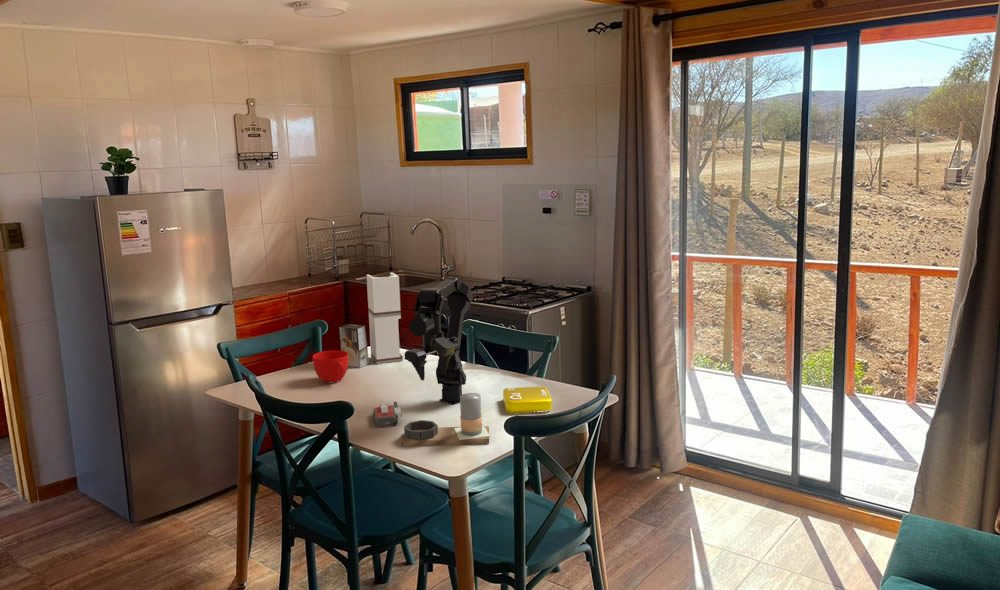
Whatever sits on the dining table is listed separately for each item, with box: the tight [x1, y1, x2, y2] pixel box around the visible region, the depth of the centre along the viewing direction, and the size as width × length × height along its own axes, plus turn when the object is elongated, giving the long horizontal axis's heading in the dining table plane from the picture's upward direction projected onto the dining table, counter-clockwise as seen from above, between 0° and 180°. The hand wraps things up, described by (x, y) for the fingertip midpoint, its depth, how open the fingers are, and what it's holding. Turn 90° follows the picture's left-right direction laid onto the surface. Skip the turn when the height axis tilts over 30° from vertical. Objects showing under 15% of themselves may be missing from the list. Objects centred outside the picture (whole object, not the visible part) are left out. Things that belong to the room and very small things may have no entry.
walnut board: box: [401, 425, 490, 447], centre depth 216 cm, size 25×10×2 cm, turn 91°
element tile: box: [502, 386, 553, 415], centre depth 243 cm, size 15×15×5 cm
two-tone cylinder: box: [459, 392, 483, 436], centre depth 215 cm, size 6×6×11 cm
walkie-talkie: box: [372, 400, 402, 428], centre depth 235 cm, size 9×4×20 cm
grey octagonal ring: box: [403, 419, 439, 440], centre depth 216 cm, size 10×10×2 cm
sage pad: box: [454, 424, 491, 440], centre depth 216 cm, size 9×9×1 cm
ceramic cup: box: [312, 349, 349, 383], centre depth 272 cm, size 13×17×10 cm
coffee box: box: [338, 323, 370, 368], centre depth 293 cm, size 9×6×16 cm
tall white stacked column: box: [366, 272, 404, 365], centre depth 299 cm, size 11×11×35 cm
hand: (433, 376), depth 233 cm, fingers open, 9 cm apart
